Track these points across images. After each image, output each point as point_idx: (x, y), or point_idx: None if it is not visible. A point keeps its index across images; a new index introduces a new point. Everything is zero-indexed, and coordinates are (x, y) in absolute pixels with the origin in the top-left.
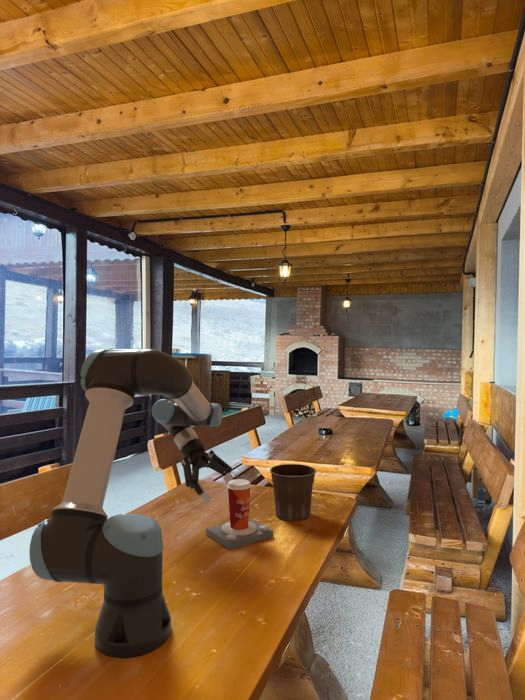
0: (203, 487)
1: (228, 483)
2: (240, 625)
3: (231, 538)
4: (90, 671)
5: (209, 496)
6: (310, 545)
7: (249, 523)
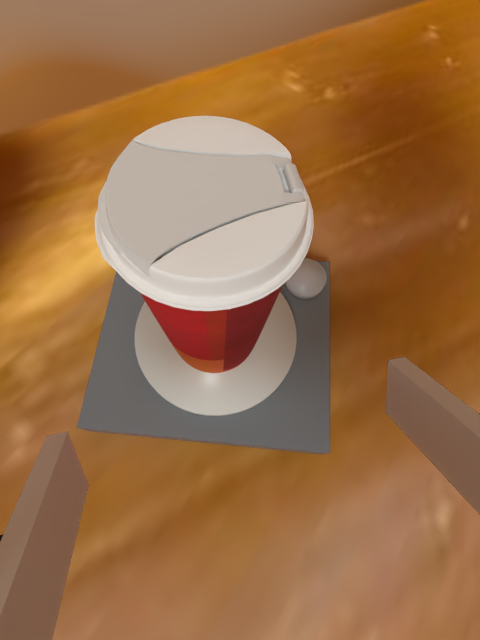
0: (477, 428)
1: (300, 230)
2: (473, 42)
3: (316, 262)
4: None
5: (406, 372)
6: (99, 145)
7: (155, 331)
